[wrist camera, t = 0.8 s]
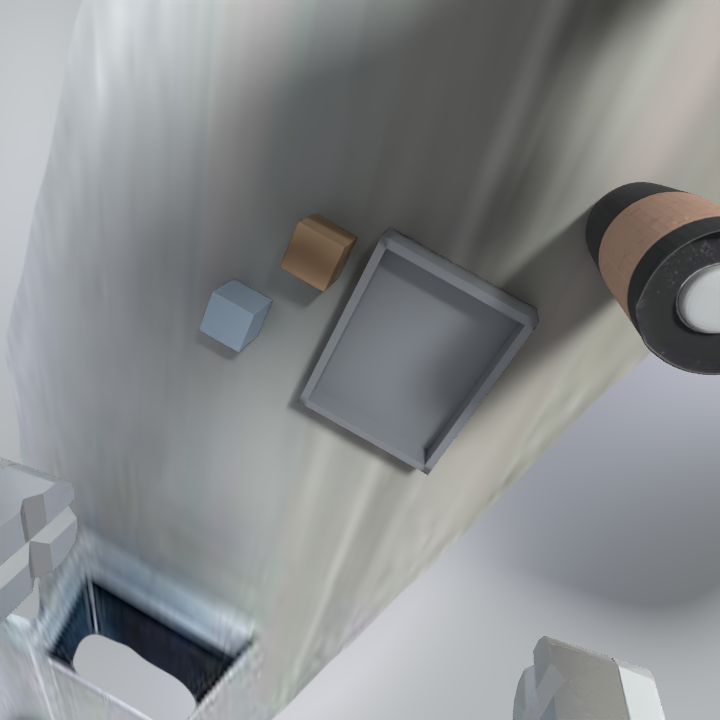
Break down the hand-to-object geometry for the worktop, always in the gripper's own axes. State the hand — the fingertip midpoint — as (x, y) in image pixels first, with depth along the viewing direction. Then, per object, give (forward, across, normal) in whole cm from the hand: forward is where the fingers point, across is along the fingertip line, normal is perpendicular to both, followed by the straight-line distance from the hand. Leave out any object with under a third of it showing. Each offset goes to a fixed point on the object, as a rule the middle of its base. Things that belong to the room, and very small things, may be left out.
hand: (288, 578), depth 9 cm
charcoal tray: (+41, +1, +14) cm, 43 cm away
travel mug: (+41, -14, -2) cm, 43 cm away
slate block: (+41, +19, +14) cm, 47 cm away
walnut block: (+41, +11, +6) cm, 43 cm away
